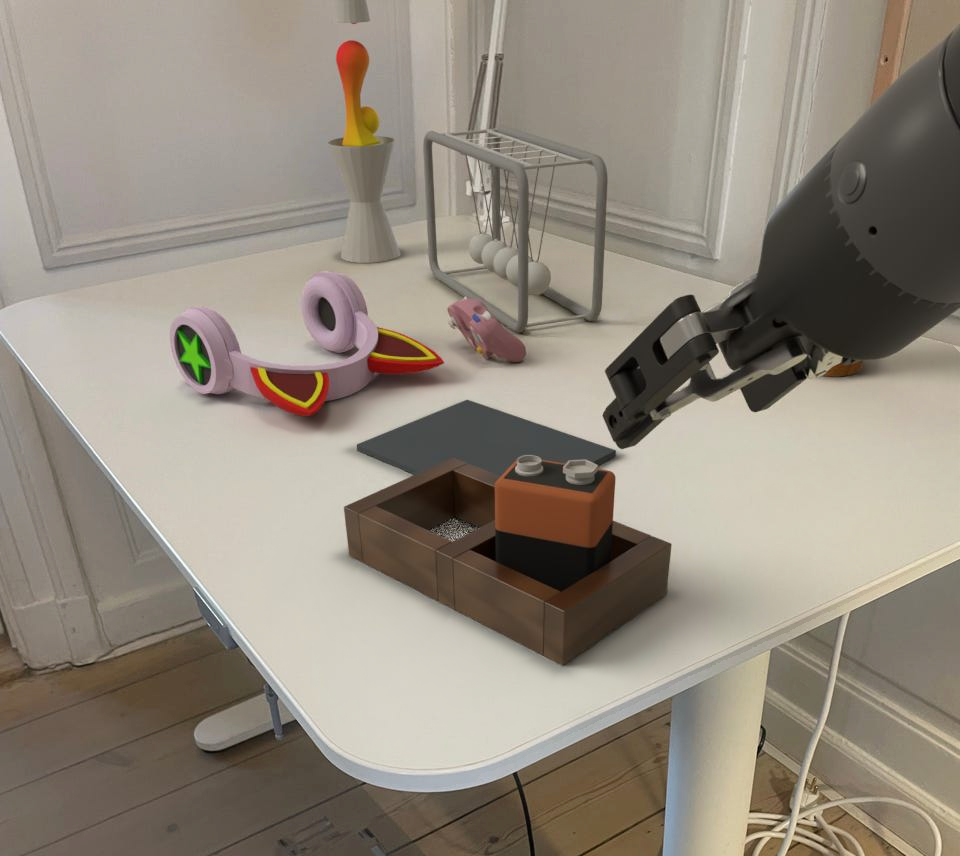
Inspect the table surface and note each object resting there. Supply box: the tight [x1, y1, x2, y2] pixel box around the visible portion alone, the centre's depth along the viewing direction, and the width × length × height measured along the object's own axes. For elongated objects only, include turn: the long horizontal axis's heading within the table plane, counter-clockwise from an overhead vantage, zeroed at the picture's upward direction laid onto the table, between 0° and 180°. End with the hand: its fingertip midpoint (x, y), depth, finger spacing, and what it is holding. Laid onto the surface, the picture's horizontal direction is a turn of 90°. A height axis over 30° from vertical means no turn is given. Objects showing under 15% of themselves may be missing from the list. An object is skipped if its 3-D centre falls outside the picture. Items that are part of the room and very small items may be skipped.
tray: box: [343, 458, 673, 666], centre depth 69 cm, size 20×11×4 cm, turn 46°
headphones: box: [169, 270, 445, 417], centre depth 100 cm, size 20×10×20 cm
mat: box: [356, 399, 617, 476], centre depth 87 cm, size 18×14×1 cm
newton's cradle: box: [422, 124, 609, 334], centre depth 120 cm, size 30×10×18 cm, turn 23°
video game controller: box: [446, 296, 527, 363], centre depth 107 cm, size 10×5×7 cm, turn 23°
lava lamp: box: [327, 0, 401, 264], centre depth 135 cm, size 9×9×35 cm
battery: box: [495, 455, 616, 592], centre depth 65 cm, size 4×7×10 cm, turn 67°
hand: (685, 412), depth 50 cm, fingers open, 8 cm apart
